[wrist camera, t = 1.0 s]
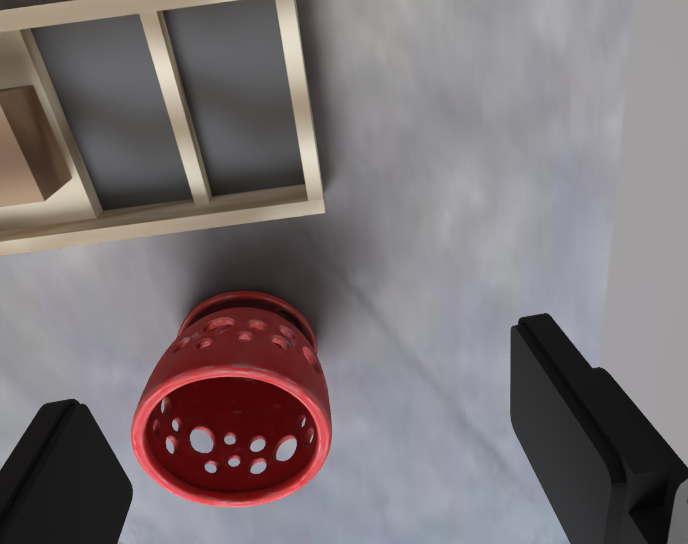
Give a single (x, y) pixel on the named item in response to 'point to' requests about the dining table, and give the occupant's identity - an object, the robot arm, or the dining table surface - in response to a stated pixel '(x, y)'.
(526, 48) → the dining table surface
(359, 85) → the dining table surface
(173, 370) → the plant pot
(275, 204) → the track
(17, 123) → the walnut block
